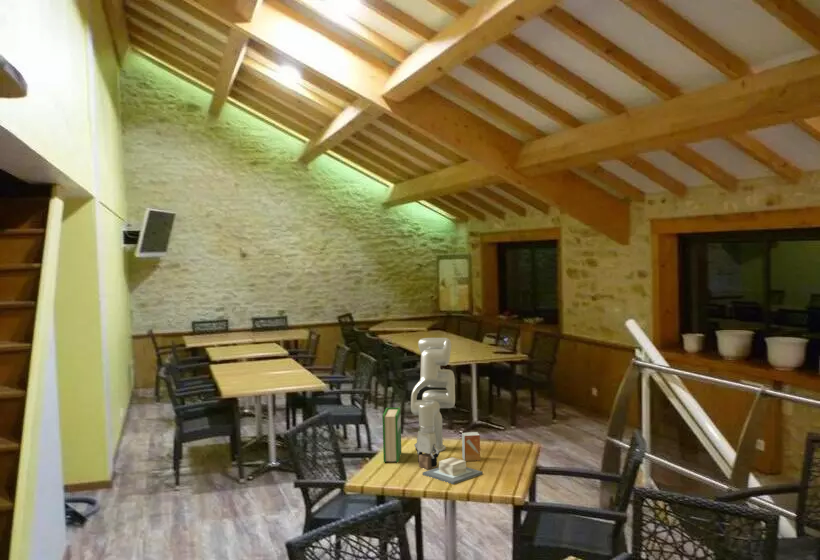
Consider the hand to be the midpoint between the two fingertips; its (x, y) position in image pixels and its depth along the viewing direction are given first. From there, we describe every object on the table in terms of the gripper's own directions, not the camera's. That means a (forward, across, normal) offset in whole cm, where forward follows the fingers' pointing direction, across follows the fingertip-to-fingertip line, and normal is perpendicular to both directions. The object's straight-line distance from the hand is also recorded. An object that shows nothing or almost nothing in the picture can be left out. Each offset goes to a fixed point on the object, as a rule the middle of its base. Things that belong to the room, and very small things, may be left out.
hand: (427, 463), depth 341 cm
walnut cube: (+2, 0, 0) cm, 2 cm away
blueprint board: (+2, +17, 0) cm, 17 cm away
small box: (+2, +7, +24) cm, 25 cm away
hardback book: (+2, -24, -2) cm, 24 cm away
